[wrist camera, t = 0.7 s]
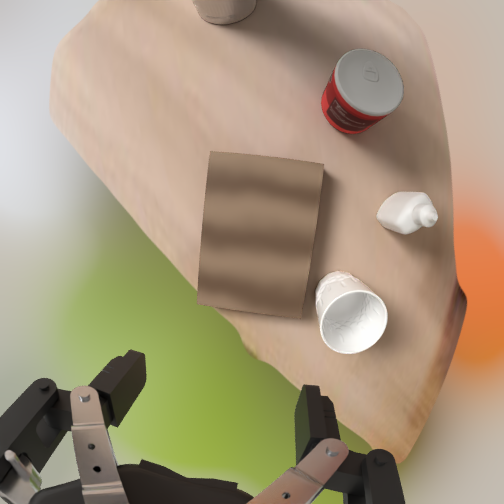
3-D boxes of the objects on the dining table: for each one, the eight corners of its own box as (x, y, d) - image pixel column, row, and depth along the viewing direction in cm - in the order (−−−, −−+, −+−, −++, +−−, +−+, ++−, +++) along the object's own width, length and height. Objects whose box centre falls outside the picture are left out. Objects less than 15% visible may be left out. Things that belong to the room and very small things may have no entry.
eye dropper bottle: (411, 219, 36) (457, 231, 24) (377, 229, 36) (416, 245, 25) (405, 189, 35) (451, 190, 23) (371, 198, 36) (409, 201, 24)
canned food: (363, 80, 32) (390, 47, 21) (379, 131, 33) (414, 112, 23) (313, 85, 33) (325, 49, 22) (328, 138, 34) (348, 118, 24)
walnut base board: (215, 154, 36) (210, 151, 33) (320, 166, 35) (324, 164, 32) (202, 296, 40) (196, 303, 38) (299, 309, 40) (300, 318, 37)
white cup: (300, 283, 39) (308, 312, 29) (350, 256, 37) (373, 277, 28) (324, 327, 40) (336, 364, 30) (371, 302, 38) (395, 332, 29)
